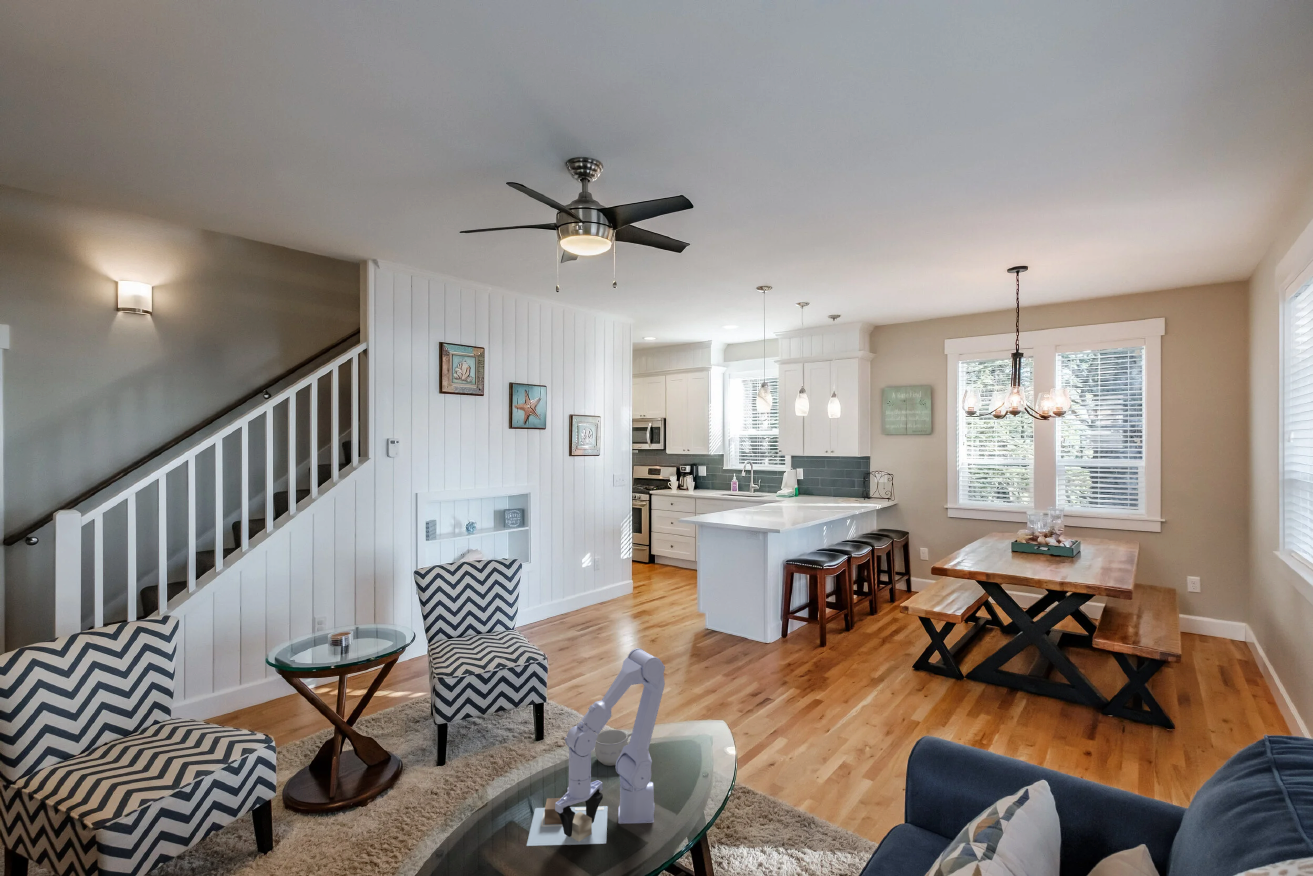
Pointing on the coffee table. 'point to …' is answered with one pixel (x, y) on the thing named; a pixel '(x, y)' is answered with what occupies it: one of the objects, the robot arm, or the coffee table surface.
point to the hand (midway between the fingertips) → (579, 828)
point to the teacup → (610, 745)
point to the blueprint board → (555, 833)
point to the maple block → (581, 826)
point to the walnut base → (551, 812)
